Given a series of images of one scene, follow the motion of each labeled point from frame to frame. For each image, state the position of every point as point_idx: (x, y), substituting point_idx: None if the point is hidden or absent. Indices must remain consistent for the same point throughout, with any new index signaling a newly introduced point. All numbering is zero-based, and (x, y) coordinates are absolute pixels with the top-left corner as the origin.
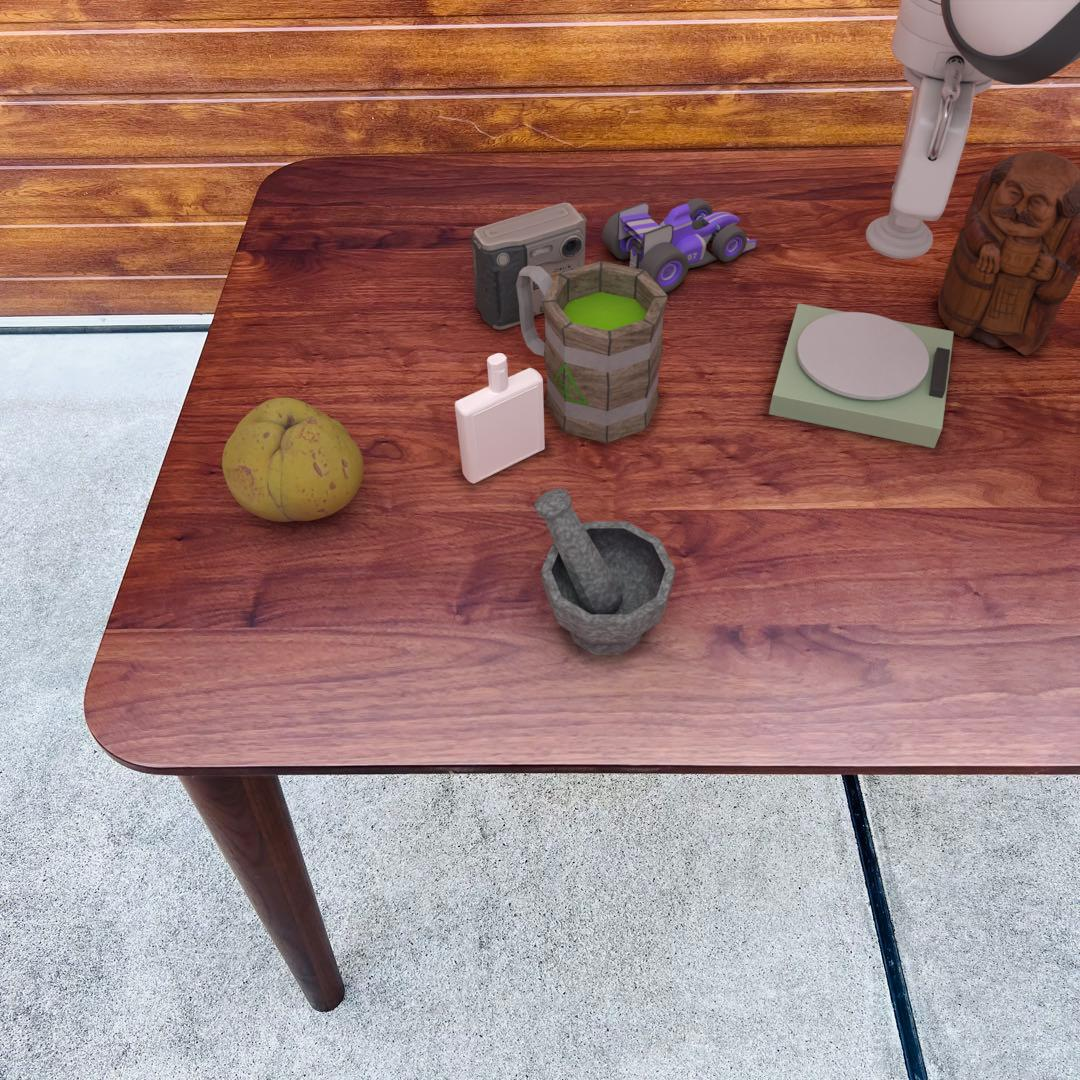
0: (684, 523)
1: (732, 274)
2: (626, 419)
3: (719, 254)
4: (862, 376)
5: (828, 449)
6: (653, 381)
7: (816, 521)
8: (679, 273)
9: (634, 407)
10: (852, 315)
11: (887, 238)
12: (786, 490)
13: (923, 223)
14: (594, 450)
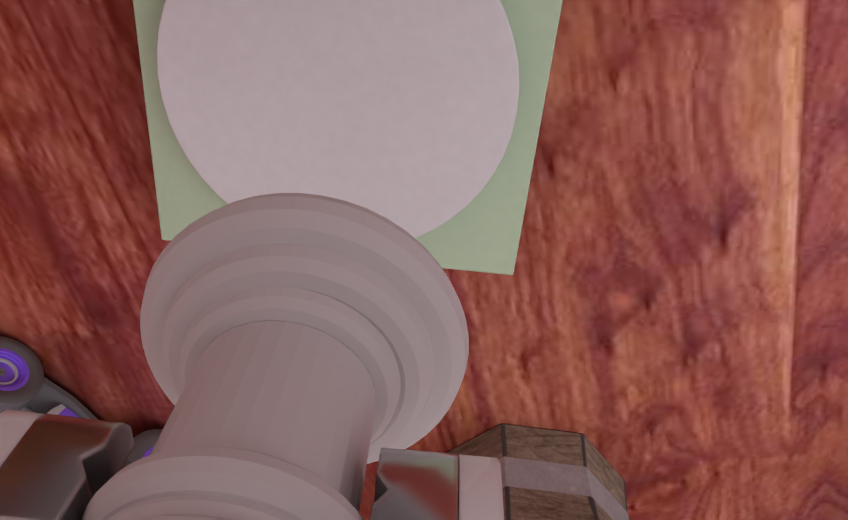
0: (826, 359)
1: (67, 338)
2: (607, 488)
3: (40, 387)
4: (440, 91)
5: (607, 116)
6: (546, 493)
7: (839, 132)
8: (150, 451)
9: (602, 499)
10: (186, 125)
11: (406, 431)
12: (741, 196)
13: (251, 304)
14: (642, 492)
